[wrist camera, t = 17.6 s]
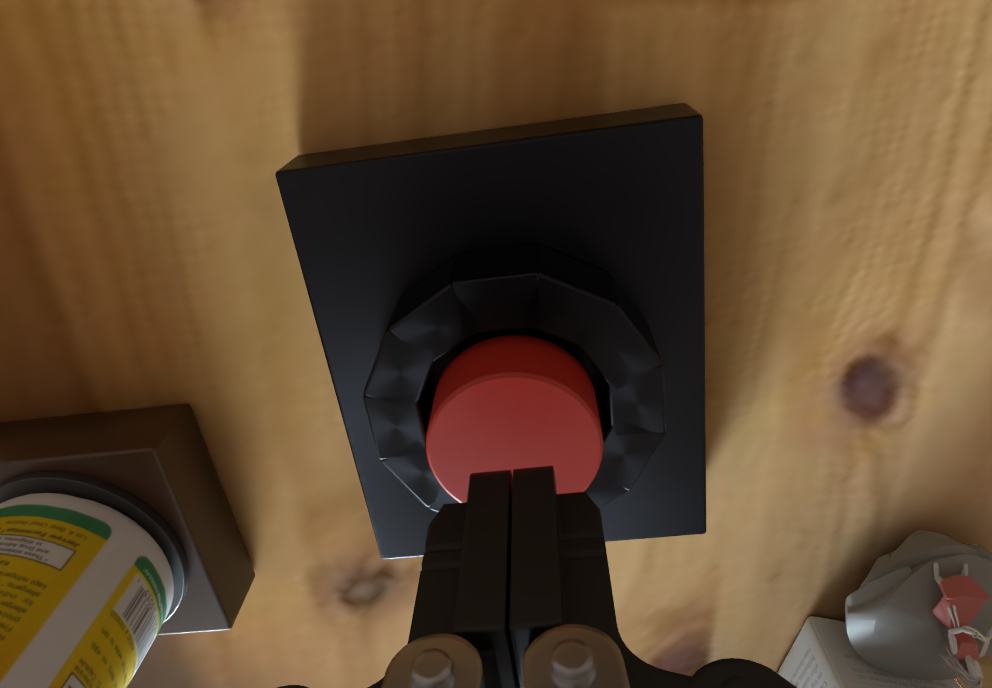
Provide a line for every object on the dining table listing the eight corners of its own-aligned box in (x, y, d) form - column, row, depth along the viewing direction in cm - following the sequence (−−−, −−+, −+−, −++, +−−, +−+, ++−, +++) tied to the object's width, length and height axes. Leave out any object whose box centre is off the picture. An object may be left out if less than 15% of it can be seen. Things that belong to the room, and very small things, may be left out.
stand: (-25, 424, 20) (-92, 478, 18) (190, 402, 20) (148, 455, 18) (66, 590, 23) (18, 654, 21) (257, 575, 23) (227, 639, 21)
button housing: (296, 155, 17) (243, 194, 14) (686, 102, 16) (727, 131, 13) (391, 520, 22) (368, 611, 18) (693, 494, 21) (723, 585, 18)
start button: (421, 342, 15) (409, 383, 14) (589, 324, 15) (597, 364, 13) (449, 477, 17) (441, 527, 15) (601, 463, 17) (609, 513, 15)
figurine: (822, 627, 23) (912, 823, 18) (823, 522, 21) (925, 706, 16) (996, 609, 22) (1144, 806, 17) (1013, 498, 20) (1187, 682, 15)
